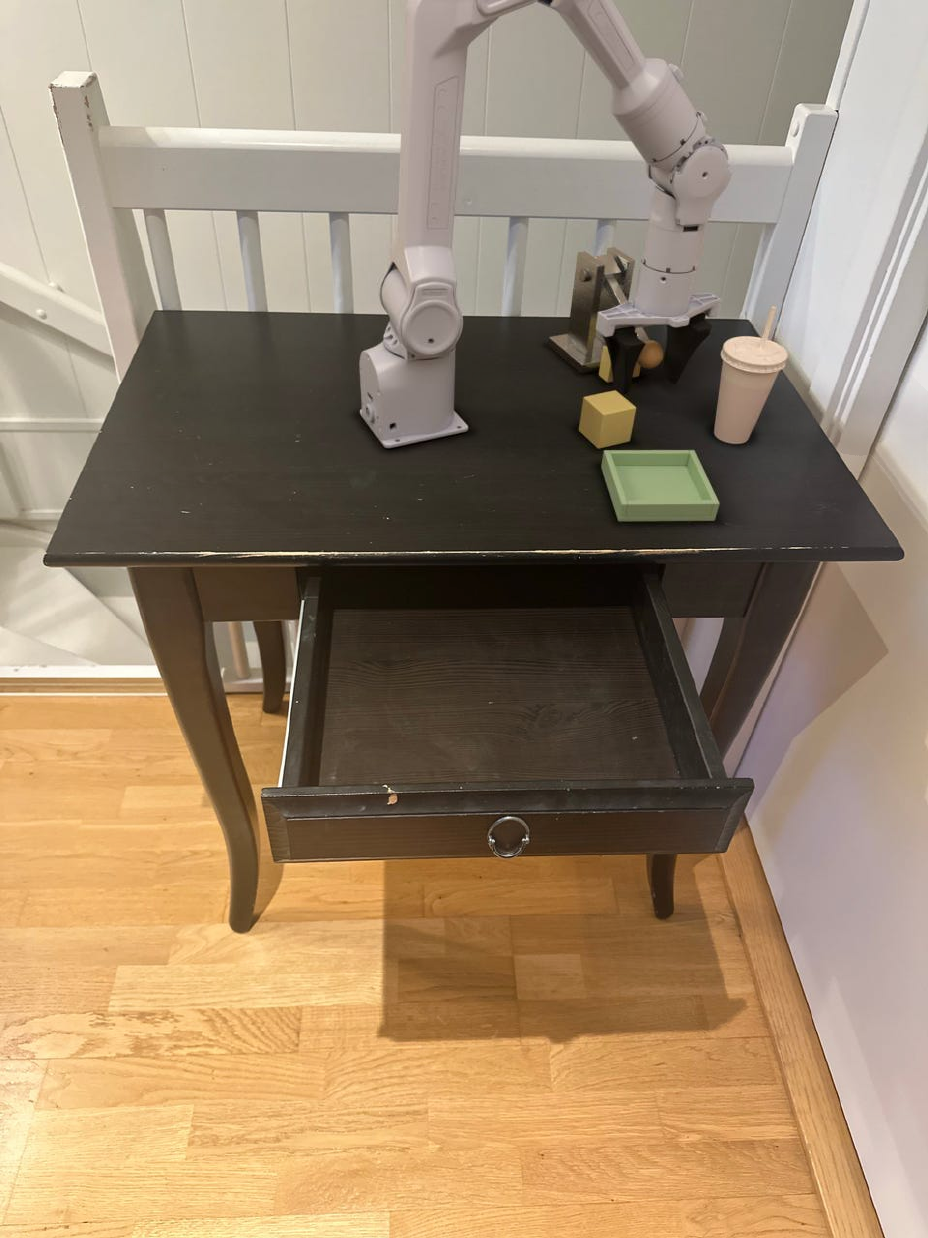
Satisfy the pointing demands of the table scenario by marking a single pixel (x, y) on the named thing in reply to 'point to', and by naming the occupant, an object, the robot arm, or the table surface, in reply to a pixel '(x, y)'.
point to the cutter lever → (652, 349)
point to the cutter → (590, 310)
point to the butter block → (606, 368)
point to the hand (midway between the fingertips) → (645, 385)
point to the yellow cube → (607, 419)
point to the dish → (658, 485)
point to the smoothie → (746, 382)
